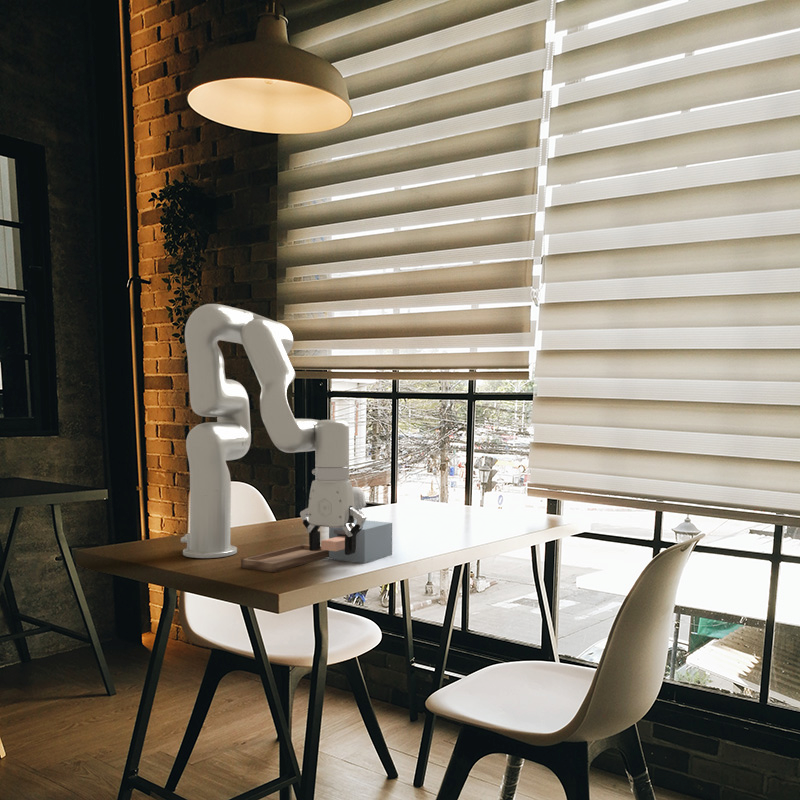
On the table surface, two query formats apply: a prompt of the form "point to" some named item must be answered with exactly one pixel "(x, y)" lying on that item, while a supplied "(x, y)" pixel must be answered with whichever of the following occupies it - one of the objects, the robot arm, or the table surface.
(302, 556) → the tray
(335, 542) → the pink rectangular bar
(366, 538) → the dispenser
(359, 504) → the figurine
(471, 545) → the table surface
